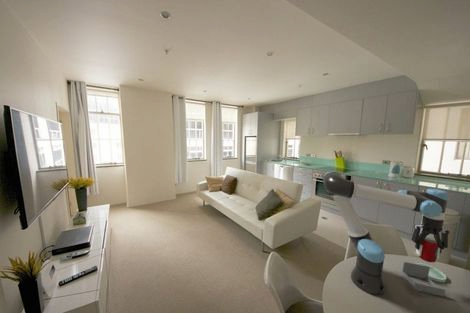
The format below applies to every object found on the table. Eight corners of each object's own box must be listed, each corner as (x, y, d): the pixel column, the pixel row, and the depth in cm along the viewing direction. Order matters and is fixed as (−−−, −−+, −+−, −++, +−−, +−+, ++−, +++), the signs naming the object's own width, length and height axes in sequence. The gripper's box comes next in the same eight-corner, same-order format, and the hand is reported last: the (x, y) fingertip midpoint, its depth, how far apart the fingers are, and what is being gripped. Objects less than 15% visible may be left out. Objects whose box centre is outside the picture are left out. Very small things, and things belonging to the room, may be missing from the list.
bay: (415, 289, 94) (417, 276, 93) (401, 272, 106) (403, 260, 105) (444, 296, 90) (446, 283, 89) (426, 278, 102) (428, 265, 101)
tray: (423, 278, 101) (424, 276, 101) (409, 263, 114) (409, 260, 113) (452, 285, 97) (453, 282, 97) (434, 268, 110) (435, 265, 109)
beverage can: (439, 264, 92) (442, 244, 91) (424, 262, 94) (427, 242, 92) (428, 256, 99) (431, 236, 97) (414, 254, 100) (417, 235, 99)
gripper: (414, 217, 93) (408, 256, 96) (464, 223, 87) (456, 265, 89) (406, 211, 100) (401, 248, 103) (451, 217, 94) (444, 255, 96)
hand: (426, 255), depth 96 cm, fingers closed on beverage can, 7 cm apart
